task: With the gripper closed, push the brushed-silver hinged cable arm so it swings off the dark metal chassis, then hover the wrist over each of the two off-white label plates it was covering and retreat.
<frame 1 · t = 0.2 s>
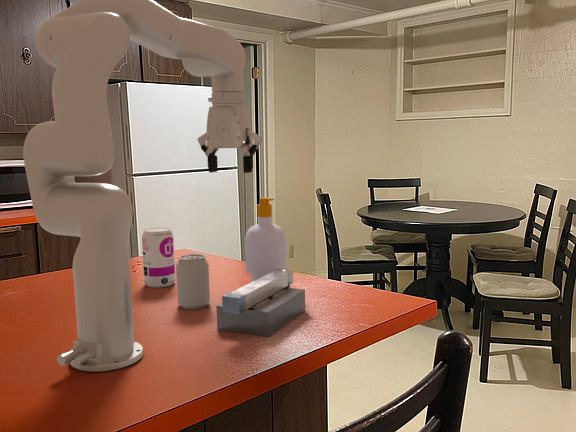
hand: (230, 172, 137), 31 cm above the kitchen counter, fingers open, 9 cm apart
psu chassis: (263, 319, 122), on the kitchen counter
cable arm: (262, 288, 121), point 7 cm above the kitchen counter, hinge at 0.0°
can: (194, 306, 133), on the kitchen counter
supplement can: (160, 284, 153), on the kitchen counter
soap bottle: (266, 293, 142), on the kitchen counter
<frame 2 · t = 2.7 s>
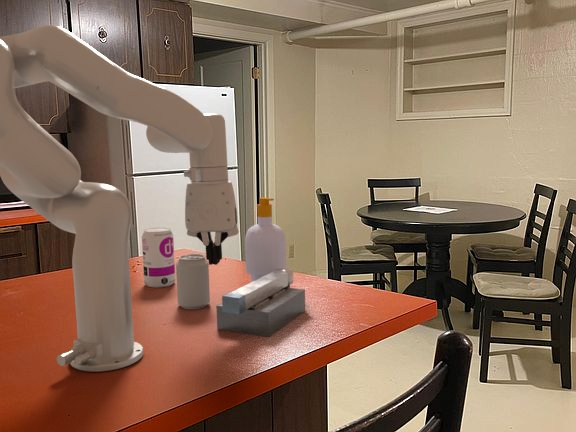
hand: (214, 263, 117), 13 cm above the kitchen counter, fingers closed
nothing on the kitchen counter moved.
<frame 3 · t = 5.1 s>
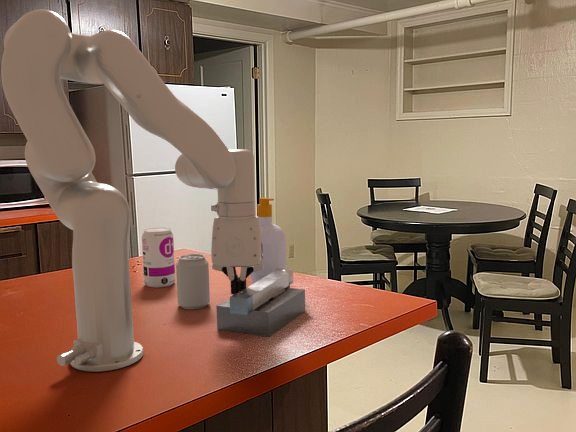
hand: (238, 297, 117), 6 cm above the kitchen counter, fingers closed
cable arm: (265, 288, 120), point 7 cm above the kitchen counter, hinge at 4.2°, touching gripper
everything else where it was.
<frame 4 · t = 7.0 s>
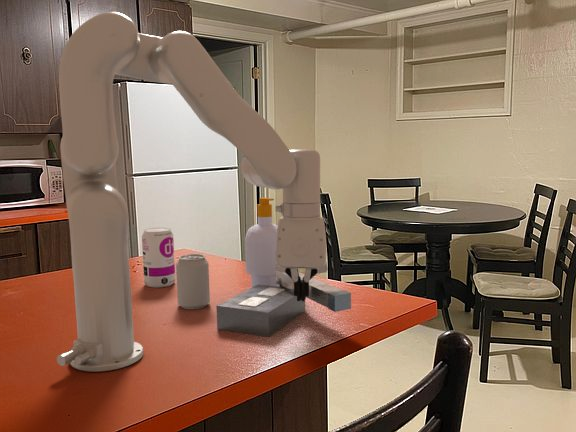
hand: (301, 299, 116), 6 cm above the kitchen counter, fingers closed
cable arm: (308, 287, 121), point 7 cm above the kitchen counter, hinge at 53.6°
everything else where it was.
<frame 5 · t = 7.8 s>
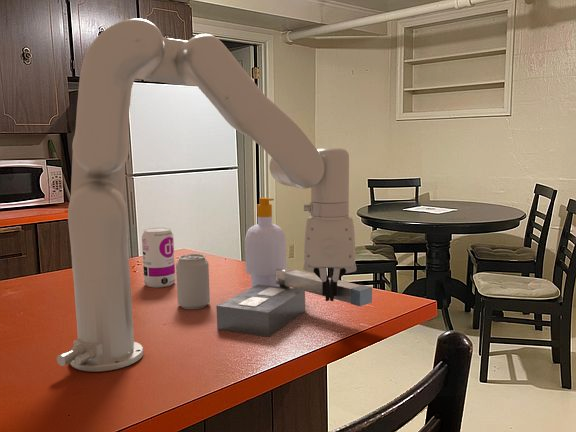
hand: (329, 299, 115), 6 cm above the kitchen counter, fingers closed
cable arm: (319, 284, 122), point 7 cm above the kitchen counter, hinge at 68.1°, touching gripper
everything else where it was.
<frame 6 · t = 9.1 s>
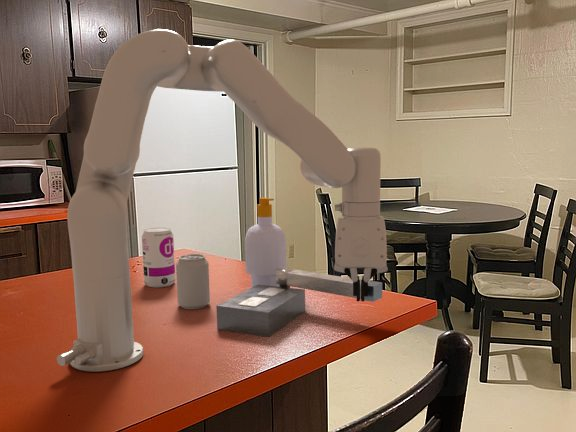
hand: (360, 299, 114), 6 cm above the kitchen counter, fingers closed
cable arm: (324, 283, 124), point 7 cm above the kitchen counter, hinge at 78.3°, touching gripper
everything else where it was.
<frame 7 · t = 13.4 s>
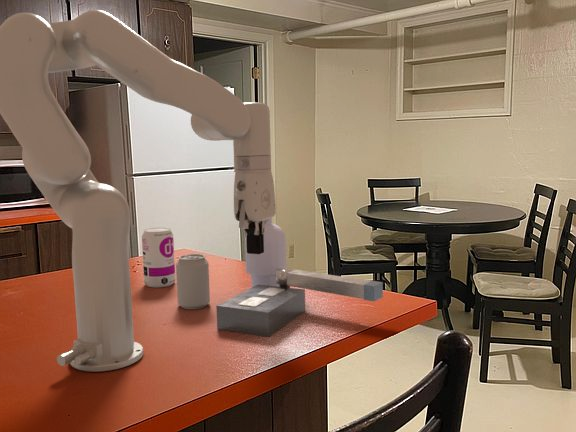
hand: (255, 252, 117), 15 cm above the kitchen counter, fingers closed
cable arm: (324, 283, 124), point 7 cm above the kitchen counter, hinge at 79.0°
everything else where it was.
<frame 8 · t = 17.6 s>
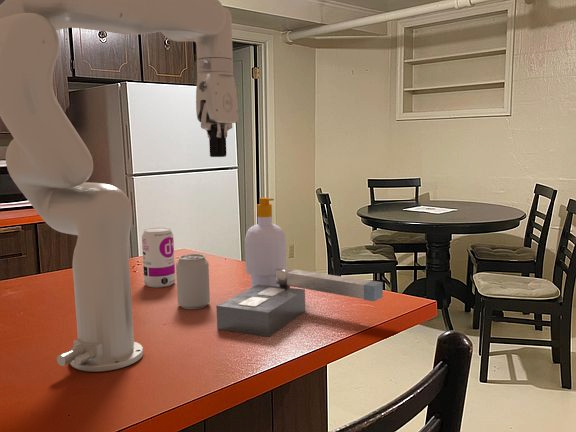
hand: (218, 156, 121), 35 cm above the kitchen counter, fingers closed
nothing on the kitchen counter moved.
at the end: cable arm at +79° (first picture: +0°); the gripper is holding nothing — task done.
